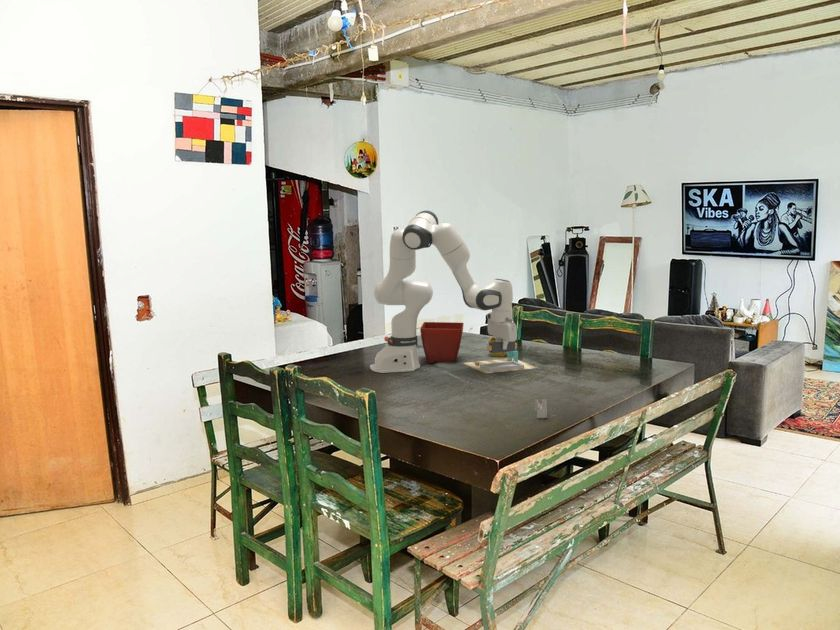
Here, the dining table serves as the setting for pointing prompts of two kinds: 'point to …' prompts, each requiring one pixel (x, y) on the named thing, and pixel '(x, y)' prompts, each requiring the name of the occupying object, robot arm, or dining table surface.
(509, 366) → the tray
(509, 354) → the teal stepped block
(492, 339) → the flower pot
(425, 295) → the robot arm
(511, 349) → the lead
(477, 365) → the board
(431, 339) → the plant pot
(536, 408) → the architectural model
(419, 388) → the dining table surface
